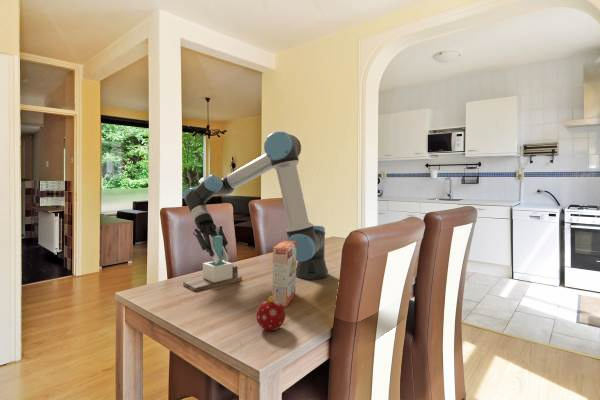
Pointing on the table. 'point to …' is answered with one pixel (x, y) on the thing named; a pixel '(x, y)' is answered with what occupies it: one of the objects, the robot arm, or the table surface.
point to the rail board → (205, 284)
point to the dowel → (218, 248)
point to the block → (217, 271)
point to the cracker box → (284, 272)
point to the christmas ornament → (270, 314)
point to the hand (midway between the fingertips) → (222, 261)
